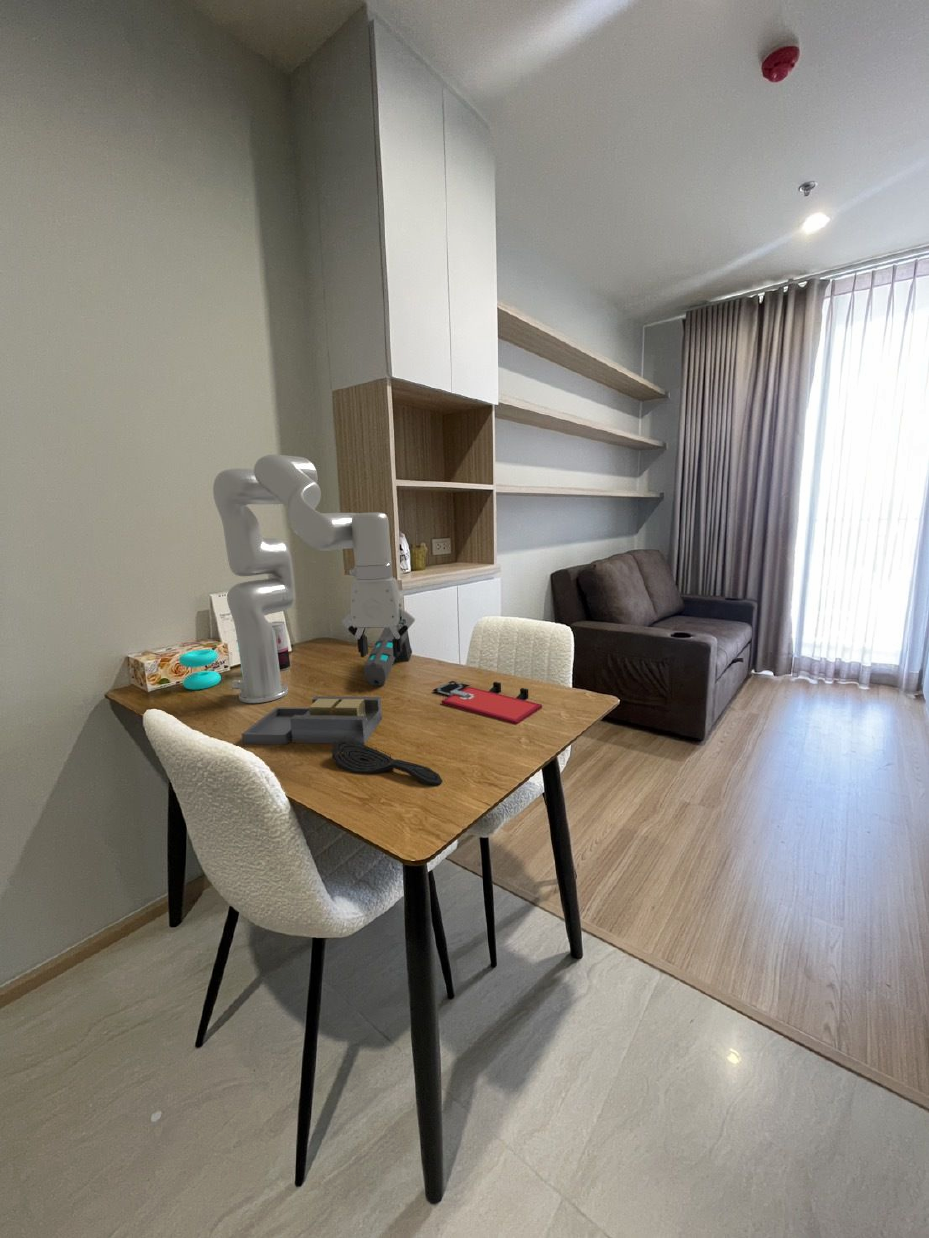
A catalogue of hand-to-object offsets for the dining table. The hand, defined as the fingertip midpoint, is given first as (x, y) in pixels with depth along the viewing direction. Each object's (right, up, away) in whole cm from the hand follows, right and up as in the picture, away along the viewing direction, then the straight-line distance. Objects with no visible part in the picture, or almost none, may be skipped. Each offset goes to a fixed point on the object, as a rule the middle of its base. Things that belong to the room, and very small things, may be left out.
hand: (380, 654), depth 106 cm
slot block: (-10, -17, +5) cm, 21 cm away
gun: (-5, -9, +47) cm, 48 cm away
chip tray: (-24, -18, +7) cm, 31 cm away
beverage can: (-42, -9, +54) cm, 69 cm away
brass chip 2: (-7, -14, +4) cm, 17 cm away
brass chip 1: (-13, -15, +5) cm, 20 cm away
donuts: (-60, -12, +41) cm, 73 cm away
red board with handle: (+23, -14, +20) cm, 33 cm away
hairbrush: (+3, -21, -12) cm, 25 cm away
